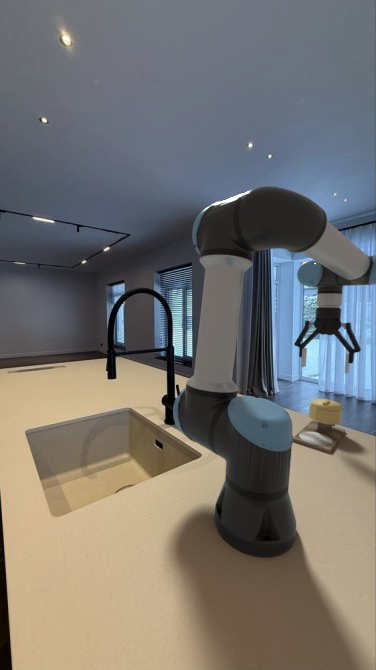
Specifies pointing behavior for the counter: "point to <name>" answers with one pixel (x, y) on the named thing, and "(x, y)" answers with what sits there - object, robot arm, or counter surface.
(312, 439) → the post board
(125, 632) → the counter surface
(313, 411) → the cap
